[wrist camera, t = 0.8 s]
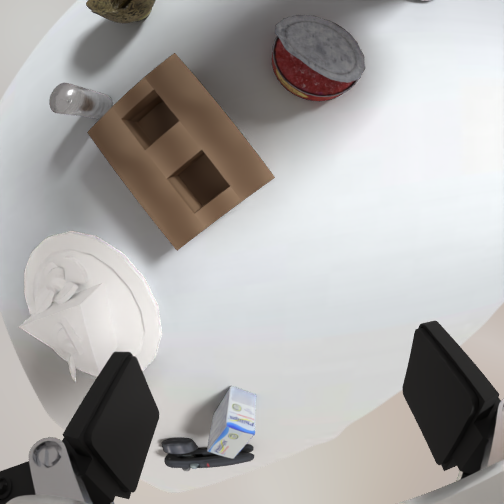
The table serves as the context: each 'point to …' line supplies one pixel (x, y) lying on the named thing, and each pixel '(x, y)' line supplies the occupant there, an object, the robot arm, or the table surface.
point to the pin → (79, 101)
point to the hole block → (178, 152)
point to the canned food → (315, 58)
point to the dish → (89, 303)
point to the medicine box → (233, 423)
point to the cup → (121, 9)
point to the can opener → (199, 455)
